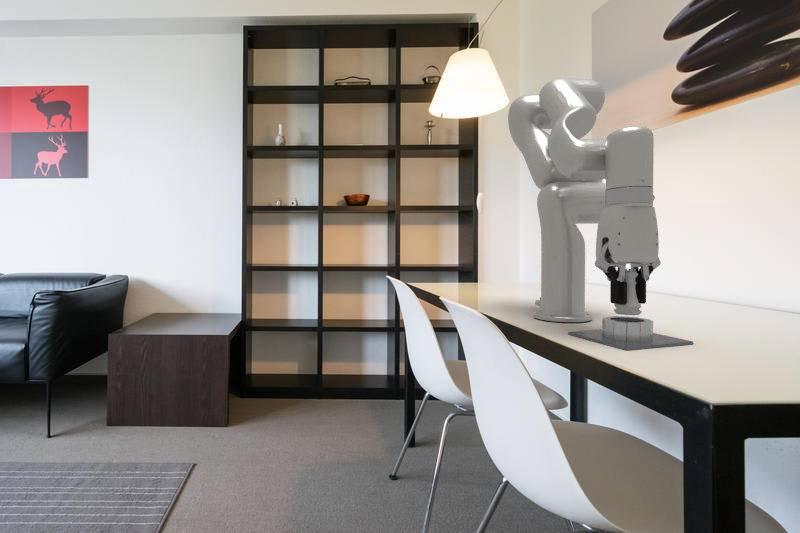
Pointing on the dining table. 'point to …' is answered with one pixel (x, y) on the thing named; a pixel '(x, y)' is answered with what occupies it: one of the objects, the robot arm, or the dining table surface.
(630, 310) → the rook chess piece
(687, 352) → the dining table surface
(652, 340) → the socket
